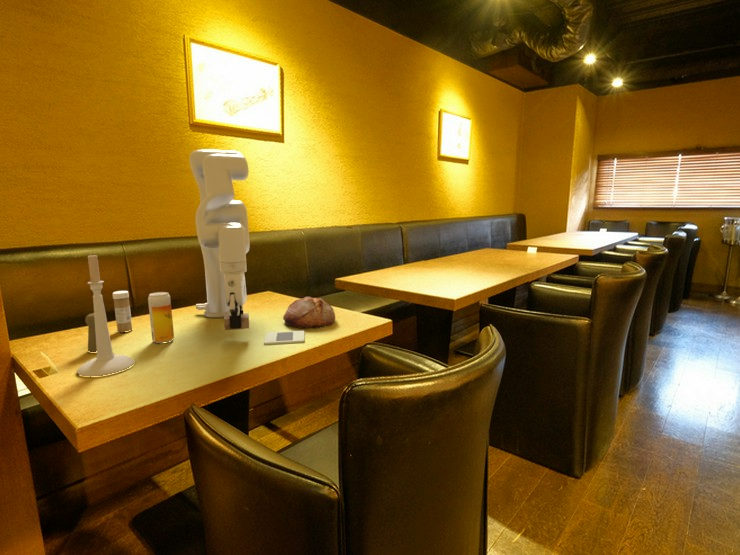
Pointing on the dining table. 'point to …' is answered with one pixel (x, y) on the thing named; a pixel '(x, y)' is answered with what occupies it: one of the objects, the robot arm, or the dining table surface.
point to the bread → (309, 313)
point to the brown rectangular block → (243, 322)
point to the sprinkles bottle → (122, 311)
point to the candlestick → (102, 333)
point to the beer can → (161, 317)
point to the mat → (284, 337)
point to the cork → (91, 332)
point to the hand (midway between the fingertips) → (237, 324)
